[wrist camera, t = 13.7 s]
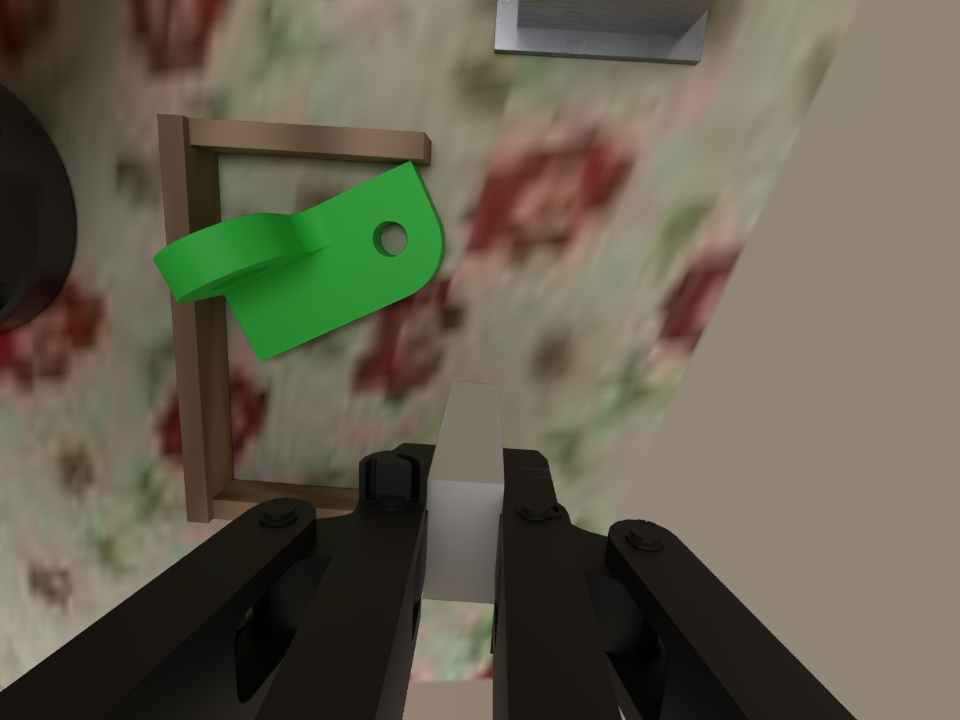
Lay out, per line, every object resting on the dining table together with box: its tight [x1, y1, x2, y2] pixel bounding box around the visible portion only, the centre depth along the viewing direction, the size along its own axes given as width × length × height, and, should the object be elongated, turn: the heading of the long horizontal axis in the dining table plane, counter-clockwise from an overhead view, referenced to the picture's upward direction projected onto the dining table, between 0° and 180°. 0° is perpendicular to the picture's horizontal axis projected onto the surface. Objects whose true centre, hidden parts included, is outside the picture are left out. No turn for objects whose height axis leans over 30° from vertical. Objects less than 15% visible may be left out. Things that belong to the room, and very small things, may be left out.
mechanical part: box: [154, 160, 445, 362], centre depth 25 cm, size 12×6×8 cm, turn 114°
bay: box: [157, 114, 431, 523], centre depth 29 cm, size 13×21×3 cm, turn 176°
